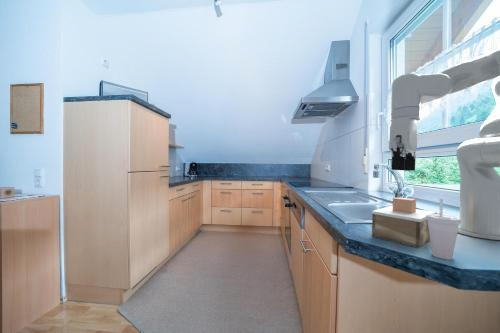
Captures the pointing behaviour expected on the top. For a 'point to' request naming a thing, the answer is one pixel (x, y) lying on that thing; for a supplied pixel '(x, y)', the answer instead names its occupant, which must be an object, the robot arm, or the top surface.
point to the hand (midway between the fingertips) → (403, 170)
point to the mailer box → (400, 230)
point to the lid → (404, 210)
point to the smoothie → (443, 233)
